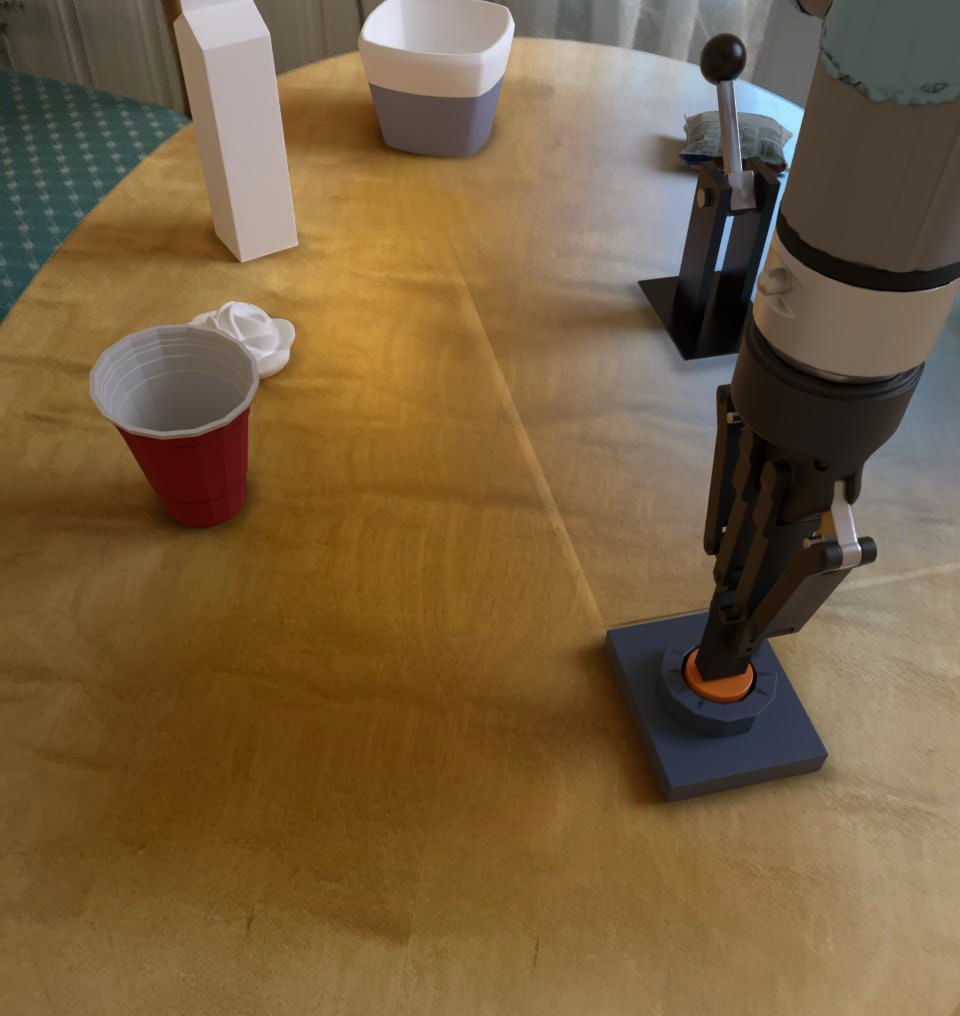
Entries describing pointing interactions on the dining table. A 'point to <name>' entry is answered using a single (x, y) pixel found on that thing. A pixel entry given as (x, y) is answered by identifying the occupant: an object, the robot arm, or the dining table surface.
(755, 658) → the button box
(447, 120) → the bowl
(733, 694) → the button
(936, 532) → the dining table surface
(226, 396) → the plastic cup
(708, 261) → the bracket
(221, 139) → the milk
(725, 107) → the lever
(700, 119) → the packaged food
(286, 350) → the rose
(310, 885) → the dining table surface
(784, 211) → the robot arm
